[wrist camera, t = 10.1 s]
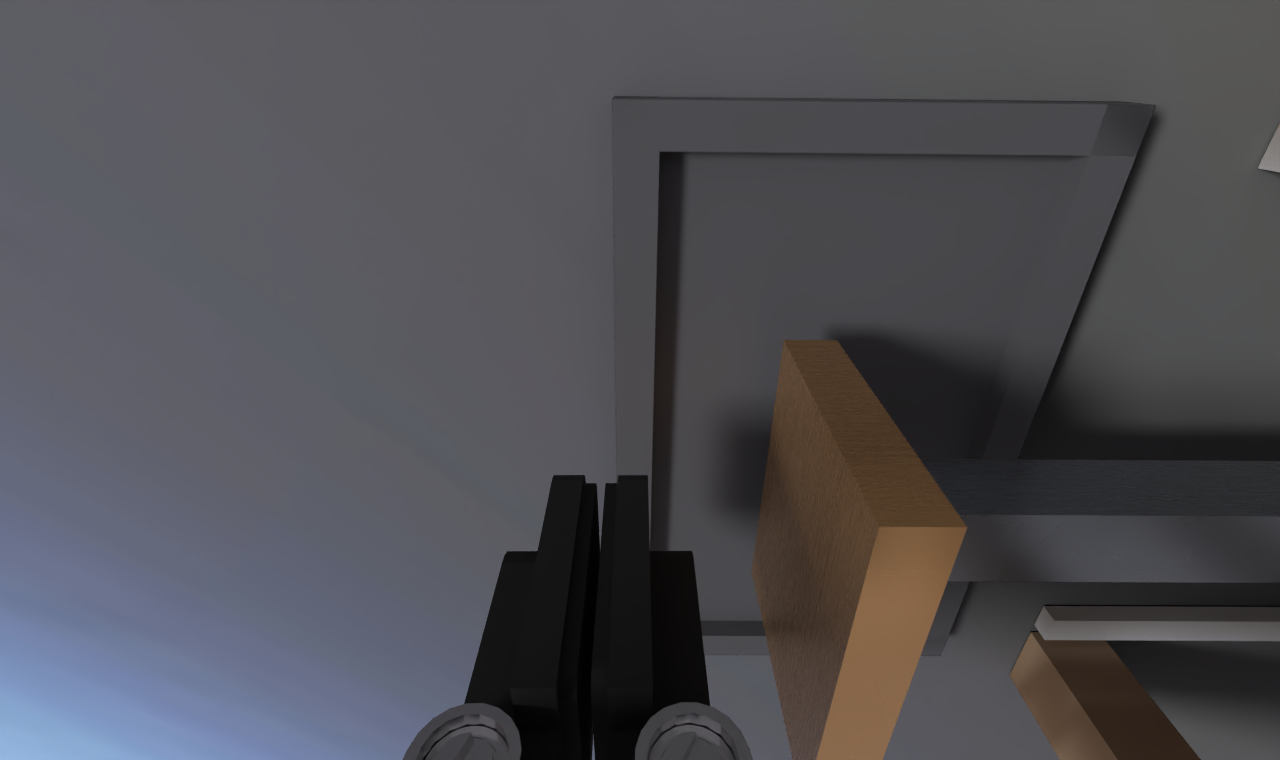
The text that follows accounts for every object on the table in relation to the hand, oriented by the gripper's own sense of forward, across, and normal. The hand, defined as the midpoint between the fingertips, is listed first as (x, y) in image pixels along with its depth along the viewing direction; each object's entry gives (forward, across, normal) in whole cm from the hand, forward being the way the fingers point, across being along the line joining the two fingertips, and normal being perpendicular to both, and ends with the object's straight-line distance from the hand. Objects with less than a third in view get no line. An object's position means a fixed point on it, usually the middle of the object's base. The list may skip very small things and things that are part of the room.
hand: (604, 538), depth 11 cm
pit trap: (+4, -5, 0) cm, 6 cm away
